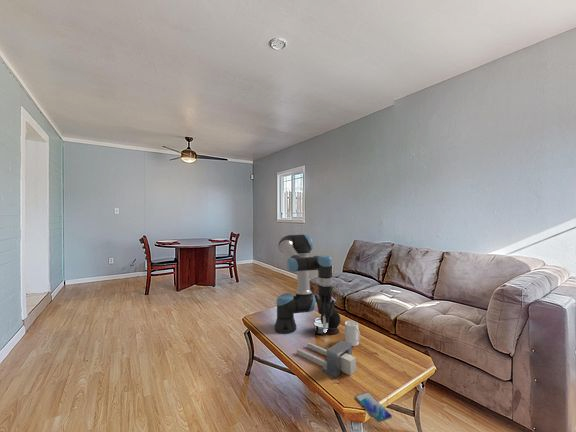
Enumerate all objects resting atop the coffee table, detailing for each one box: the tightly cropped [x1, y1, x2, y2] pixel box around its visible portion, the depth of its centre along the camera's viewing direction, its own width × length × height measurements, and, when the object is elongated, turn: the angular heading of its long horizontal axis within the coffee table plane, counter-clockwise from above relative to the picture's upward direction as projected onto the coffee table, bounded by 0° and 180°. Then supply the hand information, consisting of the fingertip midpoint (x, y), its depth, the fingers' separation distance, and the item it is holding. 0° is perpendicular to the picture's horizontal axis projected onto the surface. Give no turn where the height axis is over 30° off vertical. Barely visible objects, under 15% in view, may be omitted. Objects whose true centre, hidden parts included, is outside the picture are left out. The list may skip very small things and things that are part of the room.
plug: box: [325, 353, 357, 376], centre depth 137 cm, size 16×5×7 cm, turn 45°
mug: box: [344, 320, 362, 347], centre depth 160 cm, size 12×8×12 cm
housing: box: [321, 339, 353, 379], centre depth 137 cm, size 8×19×10 cm, turn 136°
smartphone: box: [354, 391, 393, 423], centre depth 108 cm, size 7×1×15 cm
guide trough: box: [296, 342, 327, 368], centre depth 146 cm, size 22×11×2 cm, turn 46°
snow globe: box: [320, 309, 341, 336], centre depth 178 cm, size 13×13×15 cm
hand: (325, 327), depth 142 cm, fingers closed
